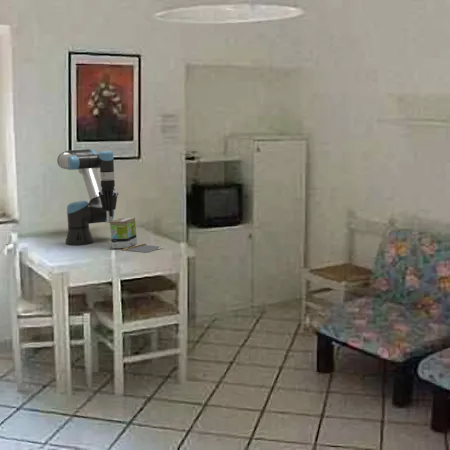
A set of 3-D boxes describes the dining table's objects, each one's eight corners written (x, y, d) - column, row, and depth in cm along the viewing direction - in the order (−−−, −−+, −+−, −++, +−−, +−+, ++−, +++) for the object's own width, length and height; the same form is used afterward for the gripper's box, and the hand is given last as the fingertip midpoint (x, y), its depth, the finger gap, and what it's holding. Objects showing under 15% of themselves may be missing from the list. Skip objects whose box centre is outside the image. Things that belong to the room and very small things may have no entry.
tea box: (129, 247, 408) (126, 220, 406) (111, 248, 410) (108, 221, 408) (137, 243, 423) (135, 217, 421) (120, 244, 425) (117, 218, 423)
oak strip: (121, 250, 406) (121, 249, 406) (143, 244, 421) (143, 243, 421) (124, 250, 405) (124, 249, 405) (145, 245, 420) (145, 243, 420)
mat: (125, 250, 406) (125, 250, 406) (145, 245, 419) (145, 245, 419) (146, 252, 398) (146, 252, 398) (165, 247, 411) (165, 247, 411)
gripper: (93, 180, 417) (96, 222, 421) (111, 180, 410) (114, 224, 413) (103, 178, 423) (105, 220, 427) (121, 179, 416) (123, 222, 420)
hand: (109, 222), depth 420 cm, fingers closed
